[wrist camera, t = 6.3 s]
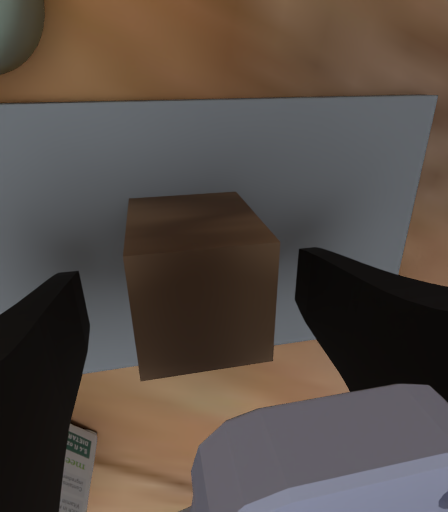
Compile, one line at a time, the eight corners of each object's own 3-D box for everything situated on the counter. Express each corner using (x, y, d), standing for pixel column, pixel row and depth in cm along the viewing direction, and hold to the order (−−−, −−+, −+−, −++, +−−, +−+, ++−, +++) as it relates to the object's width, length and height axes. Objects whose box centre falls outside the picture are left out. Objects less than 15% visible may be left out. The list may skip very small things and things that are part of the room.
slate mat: (420, 94, 15) (438, 95, 14) (374, 317, 20) (385, 328, 19) (-77, 104, 12) (-95, 106, 11) (13, 368, 16) (6, 385, 15)
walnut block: (235, 191, 14) (280, 241, 9) (235, 282, 16) (272, 360, 11) (128, 198, 13) (122, 256, 9) (140, 292, 15) (140, 381, 10)
